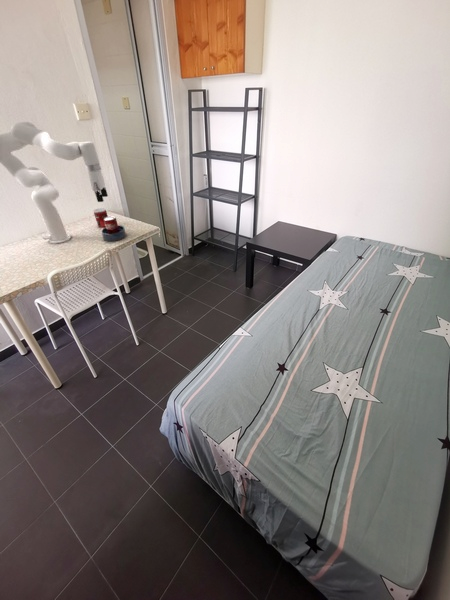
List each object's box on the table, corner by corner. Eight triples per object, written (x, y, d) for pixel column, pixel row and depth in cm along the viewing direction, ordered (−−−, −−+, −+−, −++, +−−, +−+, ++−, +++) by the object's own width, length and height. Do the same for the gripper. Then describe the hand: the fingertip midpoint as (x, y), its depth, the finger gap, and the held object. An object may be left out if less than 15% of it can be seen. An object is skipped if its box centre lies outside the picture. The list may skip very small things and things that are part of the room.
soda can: (117, 239, 177) (111, 220, 170) (106, 238, 178) (101, 220, 171) (122, 234, 183) (117, 216, 176) (112, 233, 184) (107, 215, 177)
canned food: (98, 224, 199) (93, 209, 193) (110, 222, 201) (105, 207, 194) (97, 228, 193) (92, 212, 187) (110, 226, 195) (105, 211, 189)
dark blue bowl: (104, 243, 174) (102, 236, 171) (102, 235, 184) (100, 228, 181) (128, 238, 178) (126, 231, 175) (124, 231, 188) (122, 223, 185)
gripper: (91, 164, 162) (100, 195, 172) (81, 171, 148) (92, 204, 158) (104, 163, 162) (112, 194, 173) (96, 170, 148) (105, 203, 159)
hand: (103, 199), depth 165 cm, fingers open, 9 cm apart
